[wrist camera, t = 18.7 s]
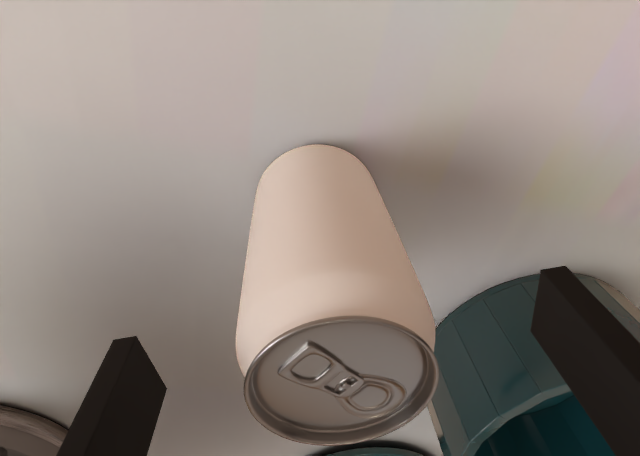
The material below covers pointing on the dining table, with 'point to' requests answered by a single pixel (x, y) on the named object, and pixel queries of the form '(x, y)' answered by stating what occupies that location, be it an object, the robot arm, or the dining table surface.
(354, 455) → the lid
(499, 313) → the pot
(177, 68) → the dining table surface
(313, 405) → the can
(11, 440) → the robot arm
